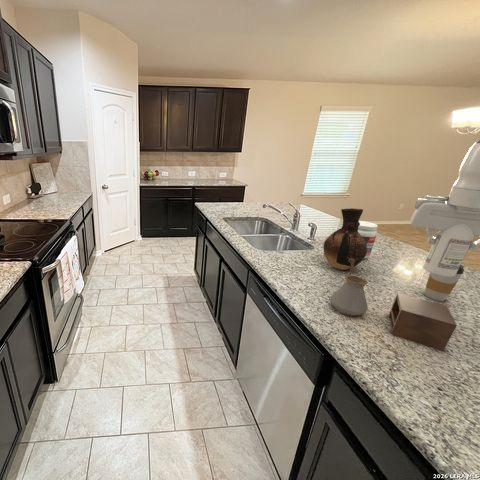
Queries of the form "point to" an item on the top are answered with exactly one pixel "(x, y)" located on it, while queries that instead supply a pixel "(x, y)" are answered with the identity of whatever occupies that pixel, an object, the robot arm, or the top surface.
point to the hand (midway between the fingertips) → (450, 246)
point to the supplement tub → (368, 234)
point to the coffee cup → (441, 285)
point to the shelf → (422, 321)
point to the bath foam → (449, 250)
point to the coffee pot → (351, 295)
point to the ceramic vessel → (346, 242)
